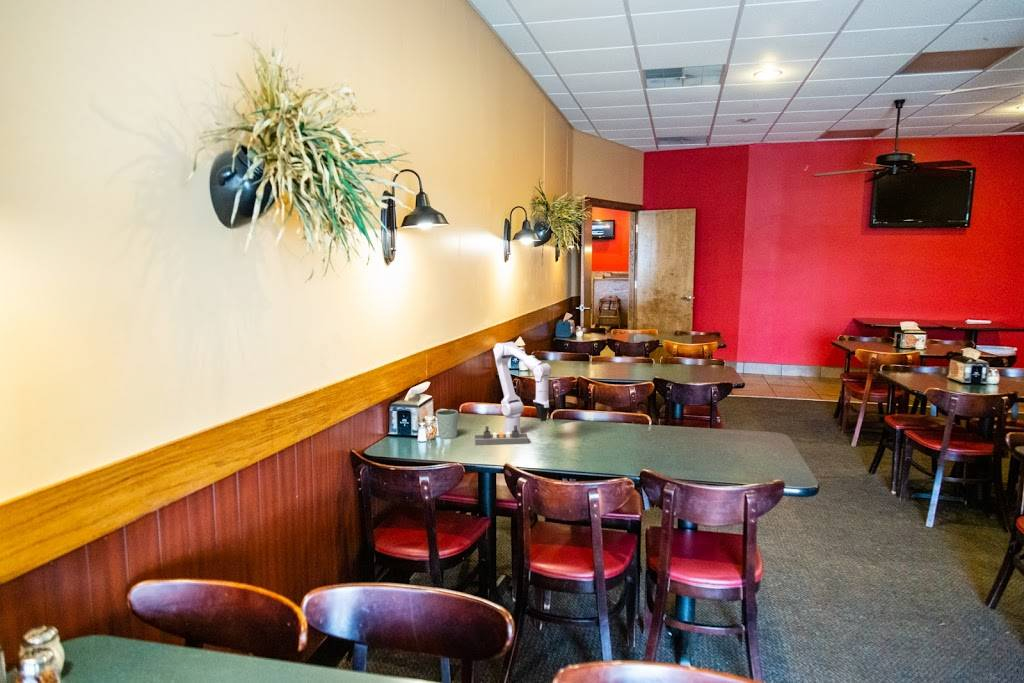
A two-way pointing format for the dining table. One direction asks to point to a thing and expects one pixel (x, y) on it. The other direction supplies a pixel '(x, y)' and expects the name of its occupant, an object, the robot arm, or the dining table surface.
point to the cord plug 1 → (487, 432)
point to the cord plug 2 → (515, 432)
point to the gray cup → (447, 423)
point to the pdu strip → (501, 440)
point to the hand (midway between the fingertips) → (541, 419)
